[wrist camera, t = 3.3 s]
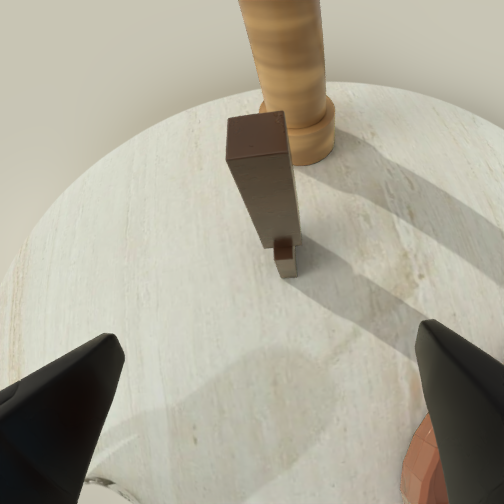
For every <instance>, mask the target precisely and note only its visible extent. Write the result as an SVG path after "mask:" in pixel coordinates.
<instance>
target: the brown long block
mask: <svg viewBox="0 0 504 504" xmlns="http://www.w3.org/2000/svg"><path fill="white" fill-rule="evenodd" d="M226 162H227V164H228V167H229V169H230V171H231V174H232V176H233V178H234V180H235V183H236V185H237V187H238V189H239V192H240V194H241V196H242V199H243V201H244V203H245V205H246V208H247V210H248V212H249V215H250V217H251V219H252V222H253V224H254V226H255V228H256V231H257V233H258V235H259V238H260V240H261V242H262V245H263V247H264V248H265V249H266V248H274V261H275V264H276V266H277V269H278V272H279V274H280V277H281V278H293V277H297V267H296V252H295V246H301V245H302V238H301V226H300V215H299V206H298V199H297V191H296V184H295V177H294V170H293V163H292V156H291V149H290V143H289V137H288V130H287V124H286V118H285V112H284V111H282V110H281V111H273V112H265V113H258V114H251V115H244V116H238V117H232V118H228V123H227V141H226Z"/></svg>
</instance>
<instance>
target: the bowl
mask: <svg viewBox="0 0 504 504" xmlns="http://www.w3.org/2000/svg"><path fill="white" fill-rule="evenodd" d="M502 364H503V365H504V363H502ZM400 491H401V494H402V498H403V502H404V504H449V502H448V496H447V490H446V484H445V479H444V474H443V469H442V464H441V460H440V455H439V451H438V447H437V443H436V438H435V434H434V431H433V427H432V423H431V419H430V416H429V412H428V414H427V415H426V417H425V418H424V420H423V421H422V423H421V424H420V426H419V427H418V429H417V430H416V432H415V433H414V435H413V438H412V441H411V443H410V446H409V449H408V451H407V454H406V456H405V459H404V461H403V467H402V477H401V485H400Z"/></svg>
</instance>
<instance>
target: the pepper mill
mask: <svg viewBox="0 0 504 504" xmlns="http://www.w3.org/2000/svg"><path fill="white" fill-rule="evenodd" d="M238 1H239V5H240V9H241V12H242V16H243V19H244V23H245V27H246V31H247V34H248V38H249V42H250V46H251V49H252V53H253V57H254V61H255V65H256V69H257V73H258V77H259V81H260V85H261V89H262V94H263V98H264V101H263V102H262V104H261V106H260V109H259V113H265V112H273V111H281V110H282V111H284V112H285V118H286V124H287V130H288V137H289V143H290V149H291V156H292V163H293V165H296V166H303V165H310V164H313V163H316V162H319V161H321V160H322V159H324V158H325V157H326V156H327V155H328V154H329V153H330V152H331V150H332V149H333V146H334V141H335V107H334V104H333V102H332V100H331V99H330V98H329V97H328V96H327V95H326V81H325V60H324V45H323V32H322V20H321V10H320V0H238Z"/></svg>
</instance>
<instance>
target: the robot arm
mask: <svg viewBox="0 0 504 504" xmlns="http://www.w3.org/2000/svg"><path fill="white" fill-rule="evenodd" d="M415 352H416V357H417V361H418V366H419V371H420V376H421V382H422V387H423V393H424V397H425V401H426V405H427V409H428V412H429V416H430V419H431V423H432V427H433V431H434V434H435V438H436V443H437V447H438V451H439V455H440V460H441V464H442V469H443V474H444V479H445V484H446V490H447V496H448V502H449V504H504V365H503V364H502V363H500V362H499V361H497V360H496V359H494V358H493V357H491V356H490V355H489V354H487V353H486V352H484V351H483V350H481V349H480V348H478V347H477V346H475V345H474V344H472V343H470V342H469V341H467V340H466V339H464V338H463V337H461V336H460V335H458V334H457V333H455V332H454V331H452V330H451V329H449V328H447V327H446V326H444V325H443V324H441V323H440V322H438V321H437V320H434V319H431V320H425V321H422V322H421V323H420V325H419V329H418V334H417V339H416V344H415ZM124 361H125V354H124V351H123V349H122V347H121V345H120V343H119V341H118V339H117V337H116V336H115V335H114V334H110V333H103V334H101V335H99V336H97V337H95V338H94V339H92V340H90V341H88V342H87V343H85V344H83V345H81V346H79V347H78V348H76V349H74V350H72V351H71V352H69V353H67V354H65V355H64V356H62V357H60V358H58V359H56V360H55V361H53V362H51V363H49V364H48V365H46V366H44V367H42V368H41V369H39V370H37V371H35V372H33V373H32V374H30V375H28V376H26V377H25V378H23V379H21V381H17V382H16V383H14V384H12V385H10V386H9V387H7V388H5V389H3V390H1V391H0V504H77V503H78V499H79V495H80V492H81V489H82V486H83V483H84V480H85V476H86V473H87V470H88V467H89V464H90V461H91V459H92V456H93V453H94V450H95V447H96V444H97V441H98V439H99V436H100V433H101V430H102V428H103V425H104V422H105V420H106V417H107V414H108V412H109V409H110V407H111V404H112V401H113V399H114V395H115V392H116V388H117V385H118V381H119V378H120V374H121V371H122V368H123V364H124Z"/></svg>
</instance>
